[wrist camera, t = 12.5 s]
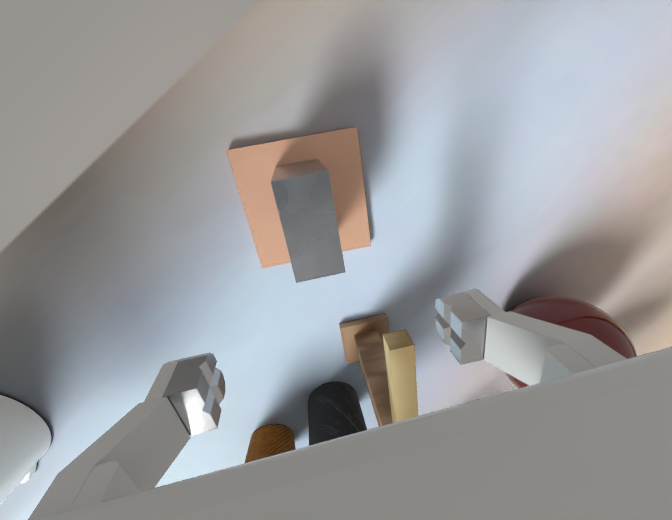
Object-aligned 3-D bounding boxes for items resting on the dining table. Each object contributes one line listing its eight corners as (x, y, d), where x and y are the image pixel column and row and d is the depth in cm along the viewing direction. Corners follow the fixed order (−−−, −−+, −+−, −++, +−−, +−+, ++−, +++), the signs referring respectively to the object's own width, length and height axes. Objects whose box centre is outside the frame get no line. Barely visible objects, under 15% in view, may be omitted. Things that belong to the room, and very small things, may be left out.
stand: (345, 359, 39) (379, 493, 25) (326, 256, 33) (356, 358, 18) (389, 349, 40) (446, 475, 25) (378, 245, 33) (447, 337, 19)
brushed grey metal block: (275, 166, 27) (270, 181, 20) (317, 158, 27) (328, 170, 20) (294, 244, 31) (296, 282, 23) (331, 236, 31) (345, 272, 23)
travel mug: (322, 373, 40) (351, 577, 22) (368, 388, 42) (427, 583, 24) (296, 410, 42) (302, 623, 24) (341, 423, 45) (376, 624, 27)
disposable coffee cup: (226, 447, 43) (206, 555, 32) (262, 407, 41) (253, 508, 30) (281, 465, 47) (278, 567, 36) (317, 428, 44) (326, 526, 33)
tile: (262, 264, 32) (262, 268, 31) (228, 149, 27) (226, 150, 26) (369, 243, 33) (370, 245, 32) (355, 126, 28) (357, 126, 27)
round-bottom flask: (456, 339, 41) (589, 506, 23) (519, 261, 37) (739, 390, 19) (519, 365, 45) (672, 523, 27) (581, 298, 41) (809, 431, 23)
